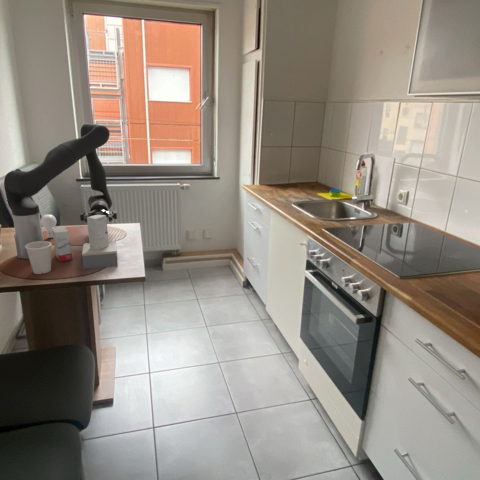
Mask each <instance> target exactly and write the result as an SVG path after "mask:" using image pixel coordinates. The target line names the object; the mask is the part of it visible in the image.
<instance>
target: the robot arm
mask: <svg viewBox="0 0 480 480" xmlns="http://www.w3.org/2000/svg"><path fill="white" fill-rule="evenodd" d="M109 139H110V129H109V128H108V127H107V126H106V125H104V124H102V123H84V124H83V125H82V126H81V128H80V137H77V138H74V139H72V140H68V141H67V140H66V141H64V142H62V143H60V144H58V145H57V146H55V147H53V148H52V149H50V150H49V151H48V152H47V154H46V155H45V157H44V160H43V162H42V163H41V164H39V165H38V166H36V167H34V168H33V169H31V170H29V171H23V170H11V171H8V172H7V173H6V174H5V177H4V179H3V186H4V187H3V188H4V192H5V196H6V201H7V205H8V207H9V208H10V211H11V214H12V220H13V227H14V228H13V229H14V235H13V236H14V237H13V238H14V242H15V248H16V253H17V254H16V255H17V259H24V260H30V259H29V256H28V253H27V249H26V248H25V246H26V245H27V244H29V243H32V242H37V241H45V239H44V236H43V234H44V233H43V228H42V227H43V226H42V224H41V214H40V207H39V205H38V204H37V203H36V202H35V201H33V199H32V198H31V197H33V196H34V195H36V194H38V193H39V192H40V191H42V190H43V189H44V188H45V187H46V186H47V185H48V184H49V183H50V182H51V181H52V180H53V179H55V178H57V176H59V175H61V174H62V173H63V172H64V171H66V170H67V169H69V168H71V167H72V166H74V165H75V164H76V163H77V162H78V161H80V160H81V159H82V158H84V157H85V158H86V162H87V166H88V173H89V182H90V189H91V190H92V191H96V192H101V193H102V194H93V195H90V196H89V197H88V203H87V204H88V206H89V209H90V210H89V212H86V211H81V212H80V214H79V219H80V220H79V221H81V222H83V221H84V222H85V223H86V224H87V217H90V216H94V215H98V214H99V215H106V219H107V221H108V222H109V223H110V222H112V221H113V220H117V219H118V213H117V210H116V209H113V210H112V211H110V209H111V208H112V206H113V201H112V198H111V195H110V193H109V190H108V186H107V176H106V170H105V168H104V166H103V164H102V162H101V160H100V158H99V156H98V153H97V150H96V149H99V148H100V147H102V146H105V144H106V143H107V142H108V141H109Z"/></svg>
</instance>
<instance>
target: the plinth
mask: <svg viewBox="0 0 480 480" xmlns="http://www.w3.org/2000/svg"><path fill="white" fill-rule="evenodd" d="M81 253H82V254H81V258H82V267H83V270H88V269H89V268H90V269H98V268H99V269H101V268H110V267H111V268H112V267H118V264H119V263H118V262H119V261H118V251H117V240H116V241H115V240H113V241H112V240H111V241H109V246H107V247H104V248H102V249H99V250H95V249H91V248H90V244H89V242H86V243H83V246H82V252H81Z"/></svg>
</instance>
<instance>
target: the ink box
mask: <svg viewBox="0 0 480 480" xmlns="http://www.w3.org/2000/svg"><path fill="white" fill-rule="evenodd" d="M52 232H53V238H52V239H53V245H54V253H55V256H56V258H57V259H58V262H65V261H66V262H67V261H71V260H73V253H72V248H71V247H72V246H71V239H70V234H69V230H68V229H67V227H66V225H61V226H55V227H53V228H52Z"/></svg>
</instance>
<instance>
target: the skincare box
mask: <svg viewBox="0 0 480 480" xmlns="http://www.w3.org/2000/svg"><path fill="white" fill-rule="evenodd" d="M107 221H108V220H107V219H106V215H99V214H98V215H94V216H90V217H87V223H86V225H87V233H88V243H89V244H90V248H91V249H95V250H99V249H102V248H104V247H107V246H109V242H110V240H109V232H108V231H109V230H108V222H107Z"/></svg>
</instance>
